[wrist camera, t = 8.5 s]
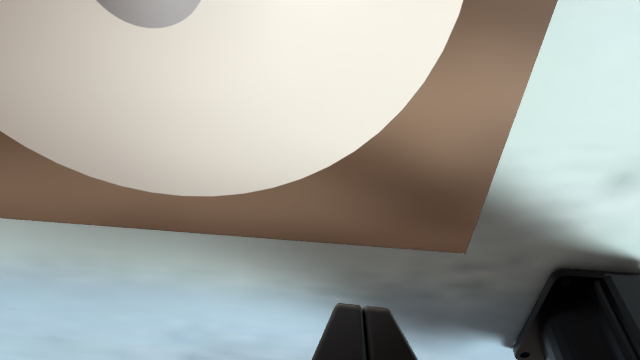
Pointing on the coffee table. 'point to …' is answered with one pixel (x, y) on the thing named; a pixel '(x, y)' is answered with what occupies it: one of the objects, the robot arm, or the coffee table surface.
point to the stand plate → (342, 160)
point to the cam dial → (211, 85)
